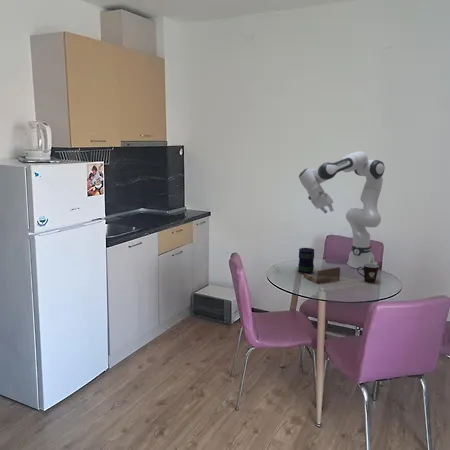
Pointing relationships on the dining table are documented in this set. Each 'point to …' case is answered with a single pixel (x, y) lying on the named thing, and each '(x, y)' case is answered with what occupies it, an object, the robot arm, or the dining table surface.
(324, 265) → the dining table surface
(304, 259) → the dark blue cylinder
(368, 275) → the coffee mug
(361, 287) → the dining table surface
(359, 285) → the dining table surface
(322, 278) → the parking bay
